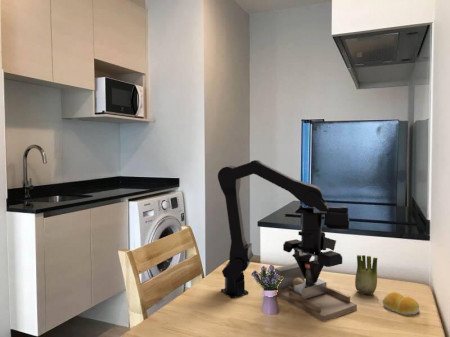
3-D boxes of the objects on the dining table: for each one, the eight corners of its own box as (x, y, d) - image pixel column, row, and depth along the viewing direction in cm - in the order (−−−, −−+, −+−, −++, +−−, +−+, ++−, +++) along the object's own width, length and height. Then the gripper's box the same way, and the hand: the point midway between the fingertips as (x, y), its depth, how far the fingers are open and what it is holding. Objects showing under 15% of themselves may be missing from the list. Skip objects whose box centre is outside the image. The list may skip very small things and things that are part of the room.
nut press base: (270, 292, 115) (270, 269, 114) (301, 284, 121) (301, 261, 121) (323, 321, 96) (324, 293, 95) (356, 309, 103) (357, 283, 102)
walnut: (290, 288, 114) (290, 277, 114) (298, 286, 116) (298, 275, 116) (298, 292, 111) (298, 281, 111) (306, 290, 113) (307, 278, 112)
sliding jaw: (293, 296, 108) (293, 264, 107) (318, 288, 113) (318, 258, 112) (302, 300, 105) (302, 268, 104) (327, 292, 110) (327, 262, 109)
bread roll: (411, 319, 98) (412, 304, 98) (379, 307, 105) (379, 294, 104) (424, 309, 103) (425, 295, 103) (392, 299, 110) (393, 286, 110)
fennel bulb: (378, 294, 113) (379, 256, 112) (369, 298, 110) (370, 259, 109) (361, 288, 118) (362, 251, 117) (352, 292, 115) (353, 254, 114)
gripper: (356, 231, 104) (354, 285, 105) (308, 219, 120) (307, 266, 121) (328, 237, 98) (327, 294, 99) (282, 223, 114) (281, 273, 115)
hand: (310, 280), depth 109 cm, fingers closed on sliding jaw, 3 cm apart
